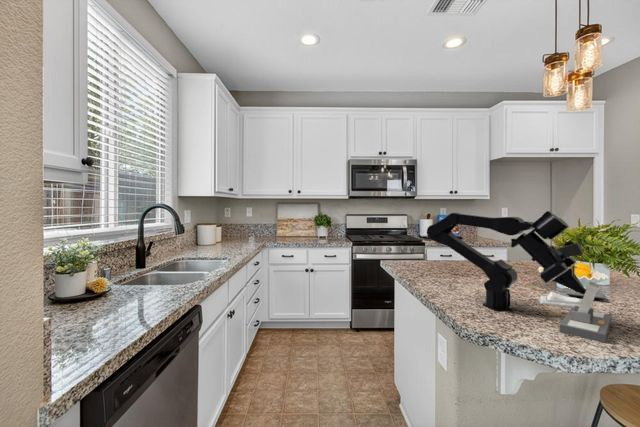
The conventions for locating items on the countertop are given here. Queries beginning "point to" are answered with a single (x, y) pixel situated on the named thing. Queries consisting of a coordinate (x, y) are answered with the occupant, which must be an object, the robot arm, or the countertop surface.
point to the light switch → (560, 300)
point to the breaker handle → (588, 297)
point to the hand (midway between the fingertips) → (585, 293)
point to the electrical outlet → (577, 294)
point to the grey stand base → (586, 324)
